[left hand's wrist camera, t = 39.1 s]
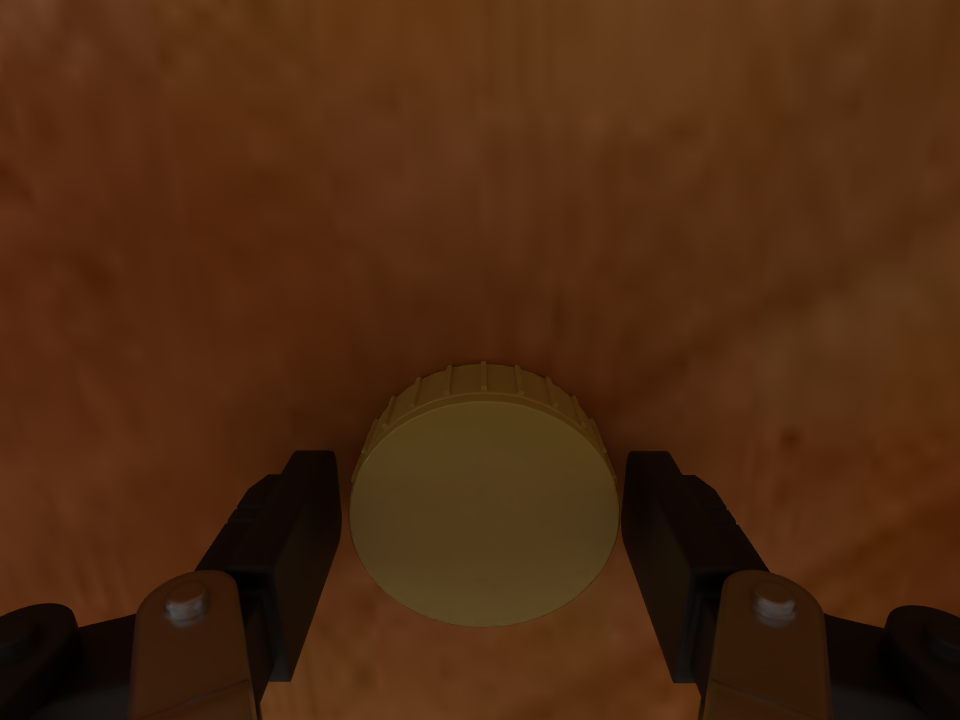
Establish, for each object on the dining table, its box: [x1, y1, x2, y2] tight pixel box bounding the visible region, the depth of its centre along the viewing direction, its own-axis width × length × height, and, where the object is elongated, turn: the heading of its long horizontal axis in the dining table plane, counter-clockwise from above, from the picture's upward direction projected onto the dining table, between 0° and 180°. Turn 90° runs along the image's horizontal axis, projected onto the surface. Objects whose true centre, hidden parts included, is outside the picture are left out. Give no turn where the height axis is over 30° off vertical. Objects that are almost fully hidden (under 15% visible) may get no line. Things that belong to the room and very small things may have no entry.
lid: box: [348, 361, 620, 627], centre depth 12 cm, size 5×5×2 cm
